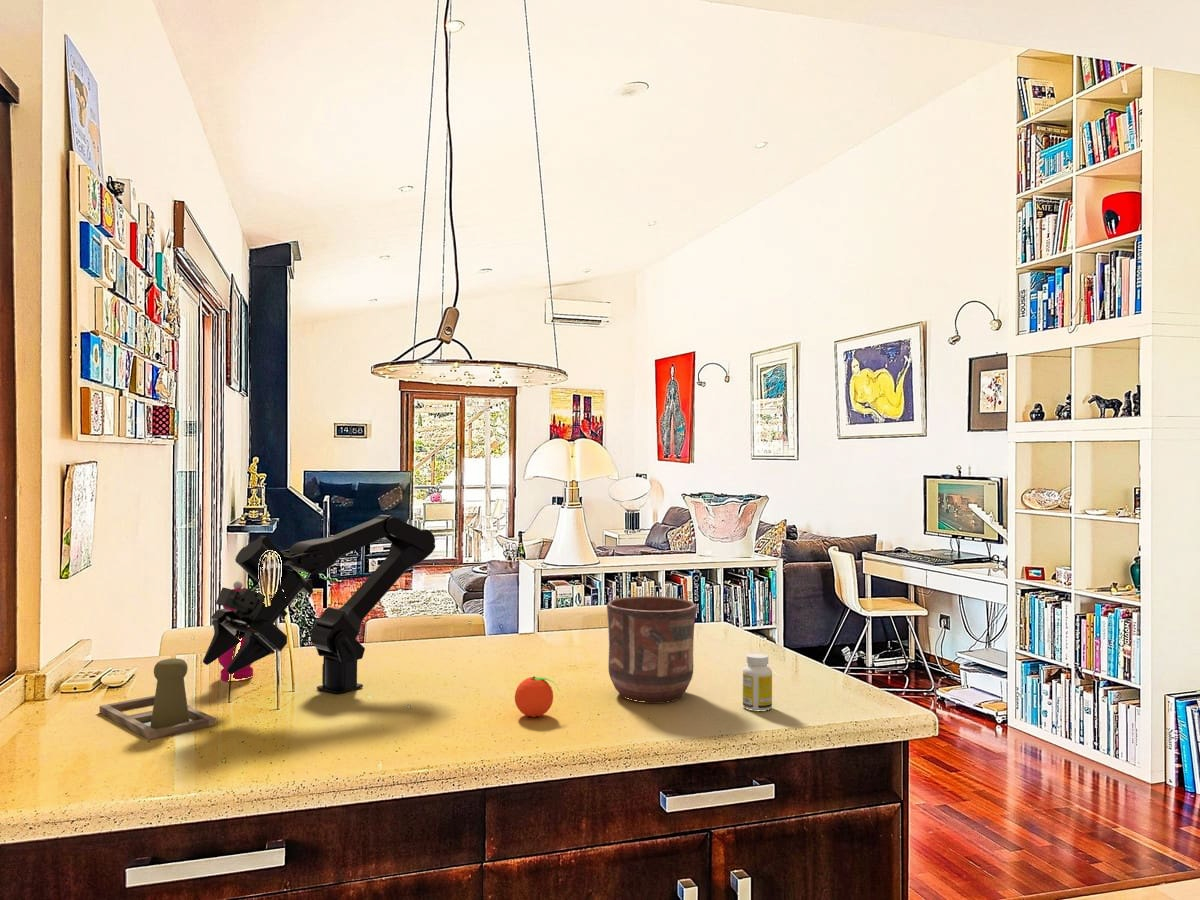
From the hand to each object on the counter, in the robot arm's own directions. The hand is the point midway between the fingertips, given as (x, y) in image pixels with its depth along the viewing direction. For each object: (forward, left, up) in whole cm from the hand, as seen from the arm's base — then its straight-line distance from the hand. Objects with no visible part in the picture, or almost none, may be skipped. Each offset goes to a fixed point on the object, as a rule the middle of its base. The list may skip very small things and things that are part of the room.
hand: (216, 667), depth 159 cm
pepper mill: (+20, -19, -9) cm, 28 cm away
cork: (+1, +8, -8) cm, 12 cm away
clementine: (-47, -32, -9) cm, 57 cm away
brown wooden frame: (+7, +7, -8) cm, 13 cm away
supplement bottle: (-78, -59, -9) cm, 98 cm away
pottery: (-57, -55, -9) cm, 80 cm away
